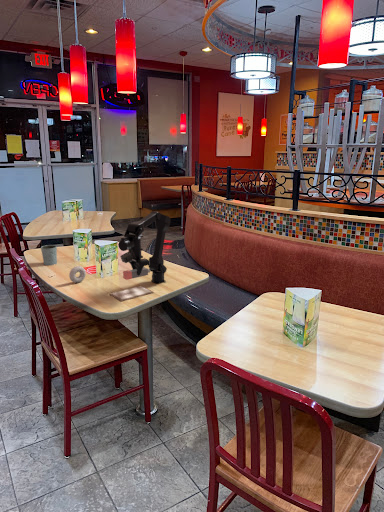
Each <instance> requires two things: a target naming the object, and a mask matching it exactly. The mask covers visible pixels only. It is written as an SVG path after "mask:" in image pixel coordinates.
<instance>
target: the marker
mask: <svg viewBox="0 0 384 512" xmlns="http://www.w3.org/2000/svg"><path fill="white" fill-rule="evenodd" d="M150 272H151V271H150V269H149V268H147V267H145V266H144V267H143V269H142V271H141V273H140V275H139V276H138V275H137V269H134V270H133V269H127V270H123V271H122V279H125V280H126V281H128V280H132V279H133V280H134V279H136V278H141V277H146V276H149V273H150Z"/></svg>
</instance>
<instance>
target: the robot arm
mask: <svg viewBox="0 0 384 512" xmlns="http://www.w3.org/2000/svg"><path fill="white" fill-rule="evenodd" d="M154 222H155V223H154ZM152 223H154V224H155V228H156V235H155V242H154V249H153V255H152V256H151V257H148V259H147V258H146V257H144V256H143V255H142V251H144V248H143V247H142V238H144V235H143V232H145V228H146V227H148V226H149V225H151V224H152ZM170 226H171V217H170V216H168V215H165V214H162V213H161V212H159V211H151V212H150V213H149V214H147V215H145V216H144V217H143V218H141V219H139V220H137V221H132V222H130V223H129V224H128V225H127V227H126V230H125V232H124V234H123V237H120V241H118V243H117V245H118V248H119V250H120V251H122V252H125V253H123V254H121V255H120V256H119V257H120V259H121V262H122V263H125V264H127V263H129V264H130V266H131V268H132V269H131V270H134V269H137V275H138V276H139V275H140V273H141V271H142V269H143V267H145V266H148V269H150V272H151V273H152V274H151V280H150V281H151V282H152V283H154V284H156V285H158V284H163V283H165V282H167V281H166V280H165V273H167V267H166V265H165V264H164V263H165V261H164V260H165V259H164V258H163V252H164V251H163V250H164V245H165V238H166V232H167V230H168V229H170ZM126 251H127V252H126Z"/></svg>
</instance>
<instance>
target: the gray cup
mask: <svg viewBox="0 0 384 512" xmlns="http://www.w3.org/2000/svg"><path fill="white" fill-rule="evenodd" d="M57 248H58V247H57V245H55V244H46V245H41V247H40V250H41V255H42V261H43V265H44V266H54V264H55V265H57V264H58V254H57V253H58V252H57V251H58V250H57Z"/></svg>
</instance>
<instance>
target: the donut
mask: <svg viewBox="0 0 384 512" xmlns="http://www.w3.org/2000/svg"><path fill="white" fill-rule="evenodd" d="M77 273H79V275H78V276H76V274H77ZM68 277H69V279H70V281H71V282H73V283H75V284H76V283H78V284H79V283H81V282H82V281H84V279H85V278H86V269H85V268H84V267H83V266H80V265H79V266H77V265H76V266H74V267H72V268H71V269H70V271H69V275H68Z"/></svg>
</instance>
